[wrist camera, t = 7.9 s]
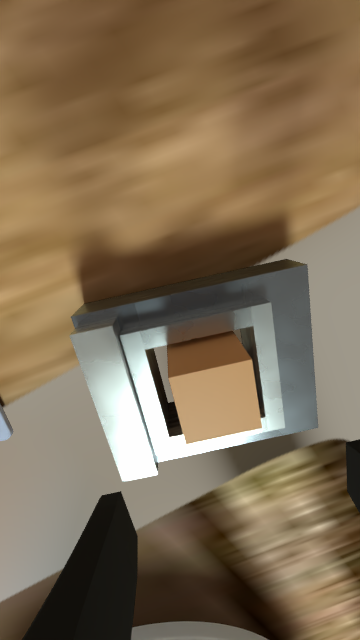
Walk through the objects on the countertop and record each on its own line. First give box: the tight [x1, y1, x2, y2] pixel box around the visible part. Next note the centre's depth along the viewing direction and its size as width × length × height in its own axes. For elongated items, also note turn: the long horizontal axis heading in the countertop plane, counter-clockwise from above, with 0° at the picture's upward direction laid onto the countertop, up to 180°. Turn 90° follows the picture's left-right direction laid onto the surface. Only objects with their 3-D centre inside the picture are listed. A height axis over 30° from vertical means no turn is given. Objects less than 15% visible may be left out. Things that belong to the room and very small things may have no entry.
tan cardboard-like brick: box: [167, 331, 262, 445], centre depth 15 cm, size 4×4×6 cm
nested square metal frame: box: [69, 259, 318, 482], centre depth 16 cm, size 12×10×4 cm
